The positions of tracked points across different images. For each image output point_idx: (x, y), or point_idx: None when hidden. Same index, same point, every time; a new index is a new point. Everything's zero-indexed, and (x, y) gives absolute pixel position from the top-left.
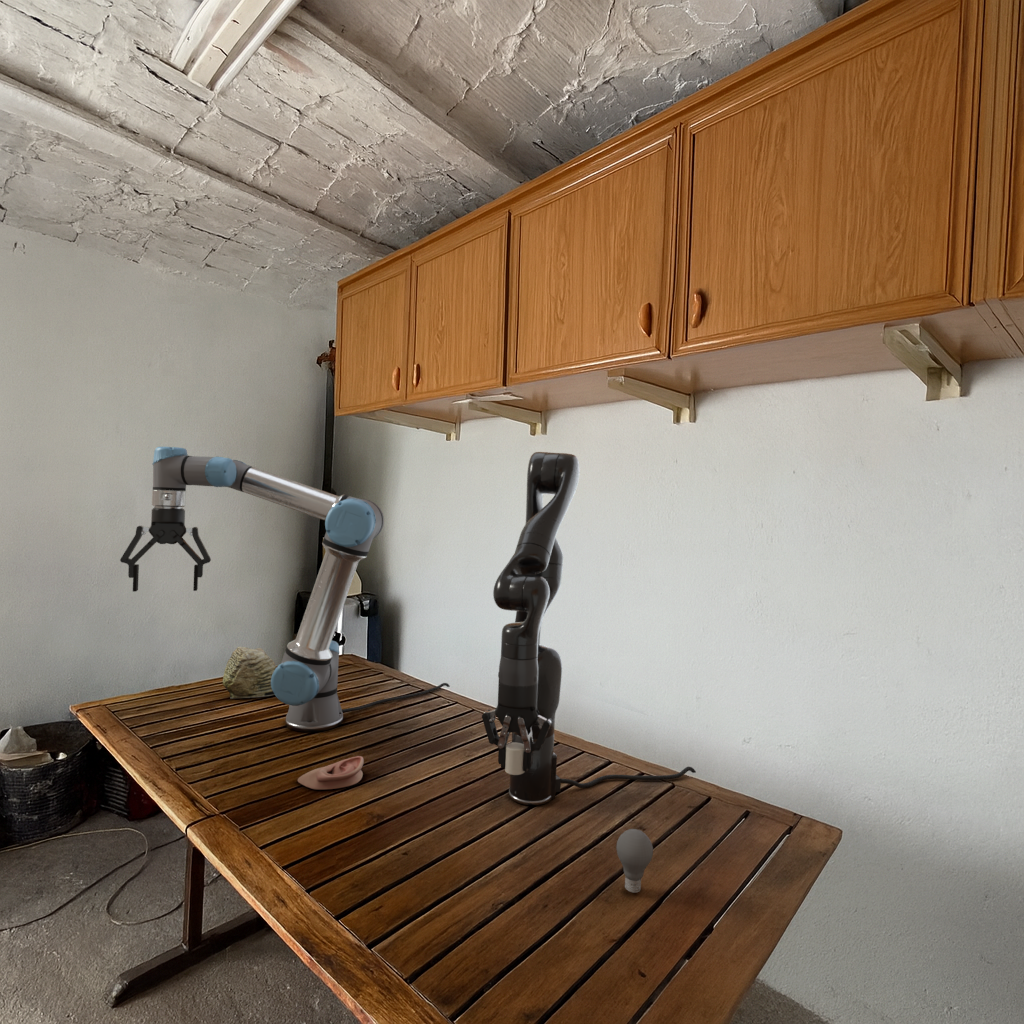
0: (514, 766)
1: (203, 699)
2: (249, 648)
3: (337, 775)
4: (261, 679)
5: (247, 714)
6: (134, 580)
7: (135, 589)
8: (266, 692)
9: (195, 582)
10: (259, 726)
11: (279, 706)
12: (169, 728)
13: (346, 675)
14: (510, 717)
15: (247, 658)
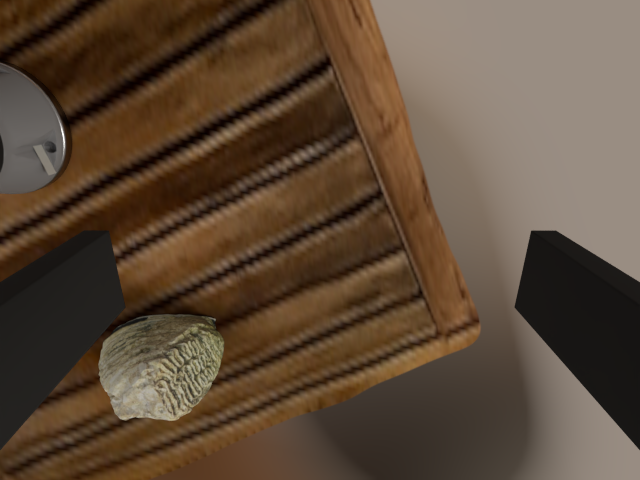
0: None
1: (267, 327)
2: (145, 415)
3: None
4: (138, 335)
5: (166, 219)
6: (608, 273)
7: (545, 236)
8: (141, 321)
9: (48, 260)
10: (127, 136)
11: None
12: (308, 172)
13: None
14: None
15: (146, 362)
